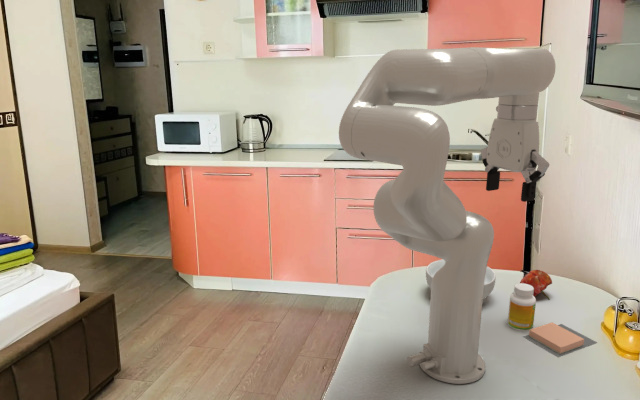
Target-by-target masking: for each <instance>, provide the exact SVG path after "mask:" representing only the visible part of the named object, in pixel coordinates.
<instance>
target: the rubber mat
mask: <svg viewBox="0 0 640 400" xmlns="http://www.w3.org/2000/svg"><path fill="white" fill-rule="evenodd" d="M557 325H558V326H560V327H562V328H564V329H566V330H568V331H570V332H572V333H574V334H575V335H577V336H579V337H581V338H583V339H584V345H583V346H581V347H578V348H575V349H573V350H570V351H567V352H565V353H562V354H559V353H557V352H555V351H554V350H552V349H550V348H548V347H547V346H545V345H543V344H541V343H540V342H538V341H536V340H534V339H533V338H531V337H529V334H527V335H524V336H522V338H524V339H526V340H527V341H529V342H531V343H532V344H534V345H536V346H538V347H540V348H541V349H543V350H545V351H546V352H548V353H549V354H552V355H553V356H555V357H557V358H560V357H563V356H566V355H570V354H572V353H574V352H577V351H579V350H582V349H584V348H587V347H590V346H592V345H595V344H598V342H597V341H595V340H594V339H592V338H589V337H588V336H586V335H584V334H582V333H580V332H578V331H576V330H574V329H572V328H570V327H568V326H566V325H565V324H563V323H560V324H557Z"/></svg>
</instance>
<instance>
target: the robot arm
mask: <svg viewBox="0 0 640 400" xmlns="http://www.w3.org/2000/svg"><path fill="white" fill-rule="evenodd" d="M554 57H555V56H554V55H553V53H552V52H551V51H549V50H548V48H547V49H546V48H497V47H496V48H494V47H474V46H471V47H457V48H453V47H452V48H426V49H425V48H419V49H417V48H411V49H410V48H409V49H407V48H406V49H393V50H390V51H389V50H388V51H387V52H385V53H384V54H383V55H382V56H381V57H380V58H379V59H378V60H377V61H376V62H375V63H374V65H372V67H371V69H370V70H369V72H368V73H367V75H366V76H365V78H364V79H363V81H362V82H361V84H360V85H359V87H358V89H357V91H356V92H355V94H354V96H352V99H351V100H350V101H349V103H348V105H347V106H346V108H345V110H344V112H343V114H342V116H341V119H340V122H339V128H338V139H339V142H340V145H341V148H342V149H343V150H344V152H346V154H347V155H349V156H351V157H354V158H356V159H359V160H360V159H361V160H365V161H371V162H379V163H385V164H391V165H397V166H402V171H401V172H400V173H399V174H398V175H397V176H396V178H395V179H391V180H389V181H387V182H385V183H383V184H382V185H381V186H380V187H379V189H378V191H377V192H376V194H375V196H374V200H373V215H374V219H375V221H376V224H377V225H378V228H380V230H382V231H383V232H384V233H385V234H387V236H389V237H390V238H392V239H393V240H394V241H396V242H397V243H399V244H400V245H402V246H403V247H405V248H406V249H408V250H412V251H414V252H418V253H421V254H425V255H429V256H432V257H436V258H437V259H440V260H442V259H443V260H445V265H444V266H443V267H442V268H441V269H439V270H438V271H437V272H436V273H435V275H434V277H433V279H432V284H431V289H430V300H429V301H430V302H429V318H428V320H429V322H428V336H427V337H428V338H427V340H428V341H427V343H424V344H423V348H422V349H423V350H421V351H420V352H419V353H418V354H416V353H415V354H413V355H409V356H407V358H406V363H407V364H408V366H409V367H416V366H418V365H419V366H420V368H421V370H422V371H423V372H424V373H425V374H427V375H428V376H429V377H431V378H433V379H435V380H438V381H440V382H444V383H446V384H447V383H448V384H454V385H455V384H456V385H457V384H458V385H461V384H462V385H463V384H471V383H474V382H476V381H478V380H480V379H481V378H483V376H484V375H485V372H486V362H485V360H484V359H483V357H482V355H480V354H479V346H480V345H479V344H480V336H481V335H480V332H481V323H482V322H481V321H482V311H483V300H484V299H483V290H484V280H485V273H486V267H487V266H488V262H489V258H490V254H491V250H492V247H493V244H494V240H495V239H494V238H495V231H494V227H493V225H492V223H491V222H490V220H489V219H487V218H486V217H485V216H483V215H481V214H478V213H476V212H472V211H469V210H466V208H465V206H464V203H463V202H462V200H461V199H460V198H459V197H458V196H457V194H456V193H455V192H454V191H453V190H452V189H451V187H449V185H447V183H446V182H445V181H444V179H445V173H446V168H447V162H448V157H449V153H450V152H449V151H450V145H451V144H450V142H451V136H450V132H449V127H448V125H447V122H446V121H445V120H444V119H443V117H442V116H440V115H439V114H438V113H435V112H434V111H433V110H432V111H431V110H428V109H424V108H422V107H421V108H419V107H414V106H402V105H400V106H399V105H395V104H403V105H404V104H405V105H417V106H431V107H433V106H434V107H436V106H439V107H440V106H445V105H450V104H456V103H460V102H461V103H462V102H466V101H472V100H484V99H485V100H486V99H487V100H488V99H495V98H498V104H497V106H496V107H495V110H496V113H497V115H496V116H497V117H496V118H494V119H493V121H492V124H491V128H490V132H489V138H488V142H487V143H488V144H487V146H486V147H485V148H482V149H481V150H480V154H481V158H482V164H483V165H484V167H485V168H484V170H485V172H486V174H487V175H486V185H485V190H486V191H487V192H490V191H491V192H492V191H497V190H499V189H500V181H501V180H500V179H501V178H500V177H501V171H500V170H499V169H503V170H506V171H510V172H513V173H514V172H515V173H521V175H522V177H523V179H524V181H523V182H522V184H521V193H520V201H521V202H523V203H526V202H531V201H534V200H535V198H536V189H537V182H540V180H541V179H542V178H543V177H544V176H545V175H546V172H547V171H548V169H549V167H550V162H548V160H546V159H545V158H544V157H543V156H542V155H541V154H540V129H539V128H540V127H539V122H538V121H537V119H538V118H537V117H538V107H539V98H540V93H542V92H544V91H545V90H547V89H548V88H549V86H550V85H551V83H552V82H553V80H554V77H555V73H556V61H555V58H554ZM536 169H537V170H536Z"/></svg>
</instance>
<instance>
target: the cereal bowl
mask: <svg viewBox="0 0 640 400" xmlns="http://www.w3.org/2000/svg"><path fill="white" fill-rule="evenodd" d="M444 265H445V260H443V259H438V260H434V261H432V262H430V263H429V264H428V265H427V267H426V269H425V278H426V284H427V285H428V287H429V290H431V284H432V279H433V277H434V275H435V273H436V272H437V271H438V270H439V269H441V268H442V267H443V266H444ZM495 285H496V272H495V271H494V270H493V269H492V268H491V267H490V266H488V265H487V267H486V273H485V280H484V290H483V300H484V299H487V297H488V296H489V295H491V293H492V291H493V290H494V288H495Z"/></svg>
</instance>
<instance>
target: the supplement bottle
mask: <svg viewBox="0 0 640 400" xmlns="http://www.w3.org/2000/svg"><path fill="white" fill-rule="evenodd" d="M513 290H514V291H513V293H511V294H510V297H509V304H508V305H509V306H508V313H507V325H508V327H510V329H513V330H516V331H518V332H529V330H530V329H533V328H534V321H535V315H536V313H535V311H536V303H537V299H536V297H534V296H533V293H534V288H533V287H532V286H531V285H528V284H524V283H520V282H519V283H515V285H514V288H513Z"/></svg>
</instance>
